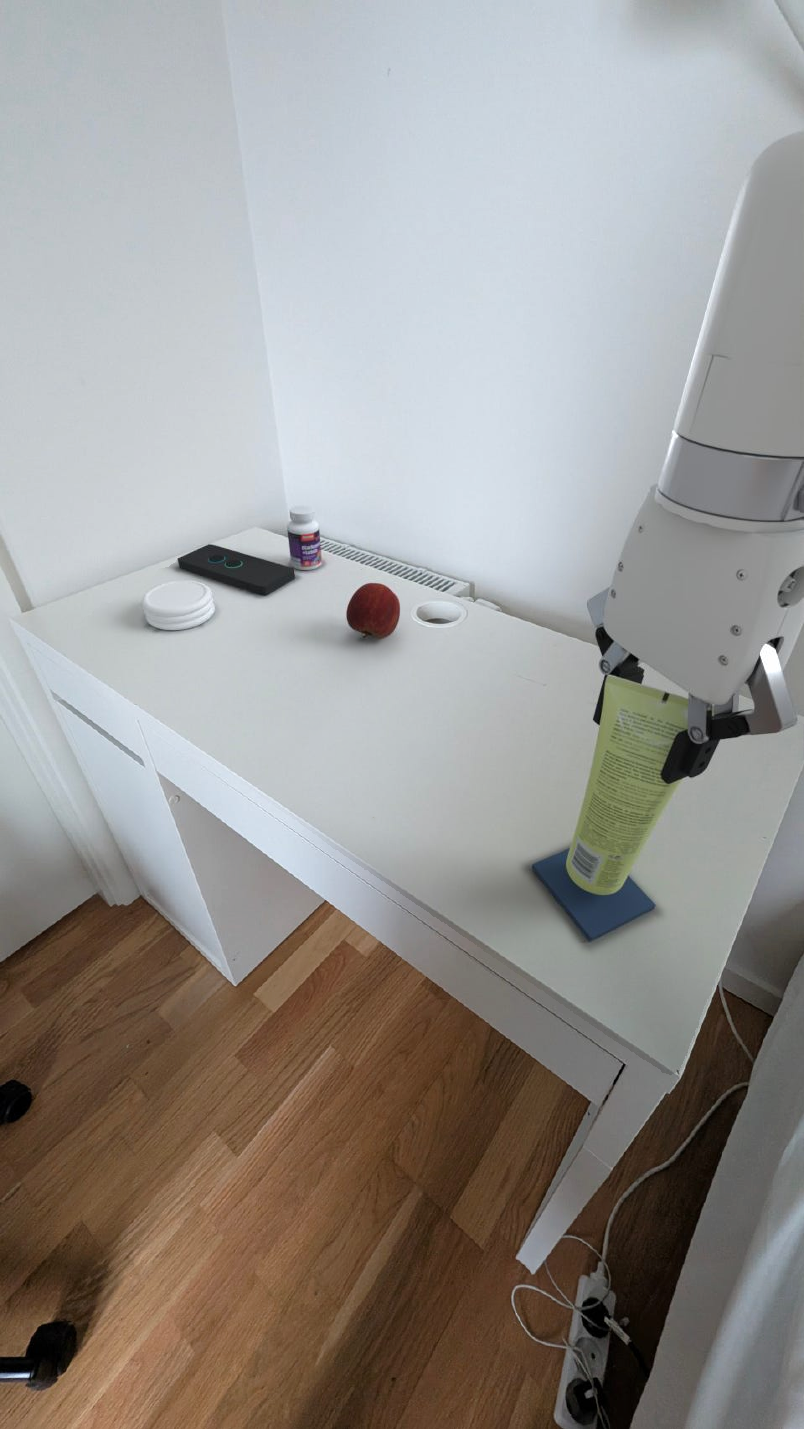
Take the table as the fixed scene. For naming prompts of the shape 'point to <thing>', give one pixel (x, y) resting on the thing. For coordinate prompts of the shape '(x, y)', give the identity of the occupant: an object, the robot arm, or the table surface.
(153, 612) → the coaster
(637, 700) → the tube
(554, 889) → the mat
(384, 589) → the apple
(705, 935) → the table surface
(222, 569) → the smart home device
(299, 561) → the pill bottle
